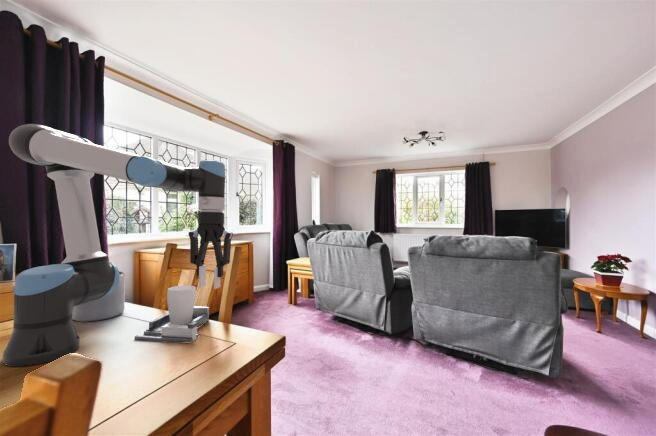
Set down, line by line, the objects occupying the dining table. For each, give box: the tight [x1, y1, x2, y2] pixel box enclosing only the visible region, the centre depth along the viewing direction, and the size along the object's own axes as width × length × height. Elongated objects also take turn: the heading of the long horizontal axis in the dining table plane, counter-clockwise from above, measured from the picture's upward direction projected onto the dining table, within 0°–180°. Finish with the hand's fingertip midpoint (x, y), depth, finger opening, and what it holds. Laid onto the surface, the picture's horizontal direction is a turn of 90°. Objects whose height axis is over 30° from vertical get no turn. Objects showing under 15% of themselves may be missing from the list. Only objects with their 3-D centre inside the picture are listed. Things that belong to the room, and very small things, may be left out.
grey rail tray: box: [145, 305, 210, 332], centre depth 103 cm, size 14×14×5 cm
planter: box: [72, 271, 126, 323], centre depth 112 cm, size 16×16×16 cm
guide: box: [134, 330, 200, 343], centre depth 93 cm, size 18×5×1 cm, turn 84°
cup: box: [166, 284, 197, 325], centre depth 103 cm, size 9×9×12 cm
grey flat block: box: [161, 322, 198, 342], centre depth 93 cm, size 10×2×5 cm, turn 84°
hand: (209, 287), depth 92 cm, fingers open, 4 cm apart
